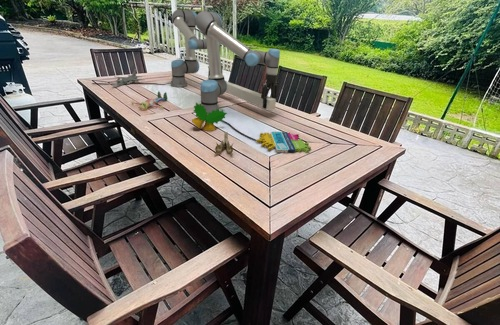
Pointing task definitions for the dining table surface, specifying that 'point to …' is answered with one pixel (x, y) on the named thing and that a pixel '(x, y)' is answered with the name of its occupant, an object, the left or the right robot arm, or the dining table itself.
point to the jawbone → (224, 145)
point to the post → (249, 96)
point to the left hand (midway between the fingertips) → (215, 86)
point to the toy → (152, 102)
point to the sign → (283, 142)
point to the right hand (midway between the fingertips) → (267, 107)
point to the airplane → (127, 79)
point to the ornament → (207, 117)
